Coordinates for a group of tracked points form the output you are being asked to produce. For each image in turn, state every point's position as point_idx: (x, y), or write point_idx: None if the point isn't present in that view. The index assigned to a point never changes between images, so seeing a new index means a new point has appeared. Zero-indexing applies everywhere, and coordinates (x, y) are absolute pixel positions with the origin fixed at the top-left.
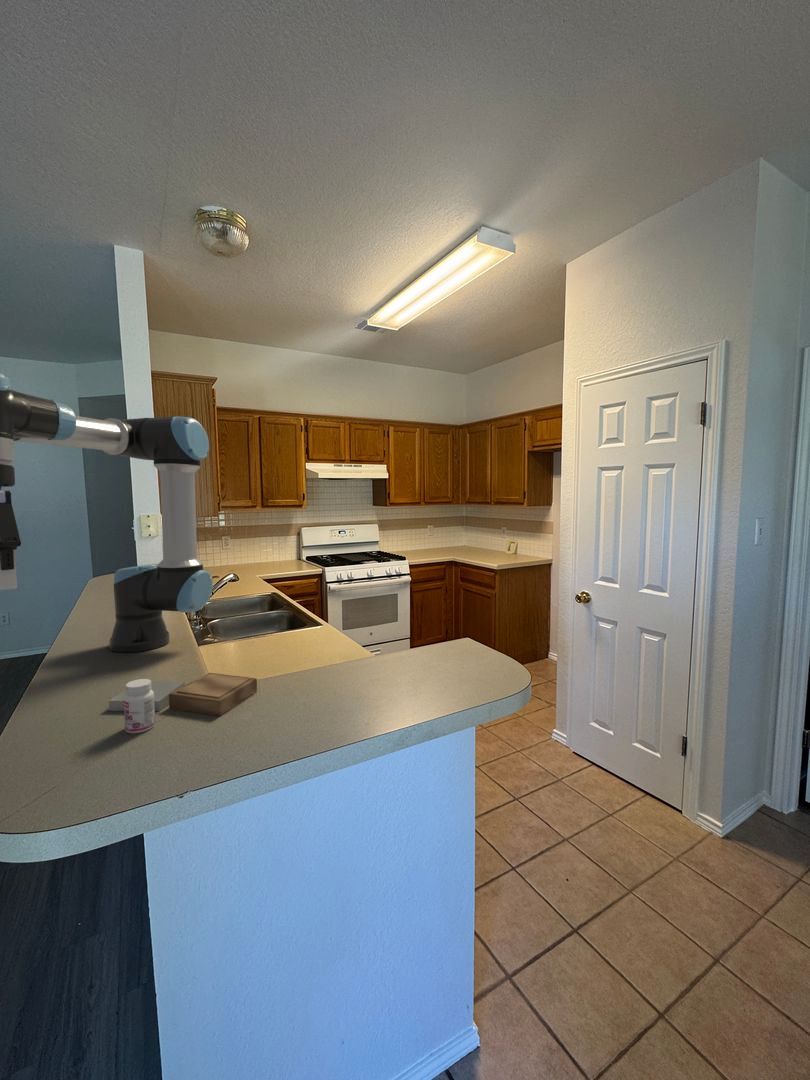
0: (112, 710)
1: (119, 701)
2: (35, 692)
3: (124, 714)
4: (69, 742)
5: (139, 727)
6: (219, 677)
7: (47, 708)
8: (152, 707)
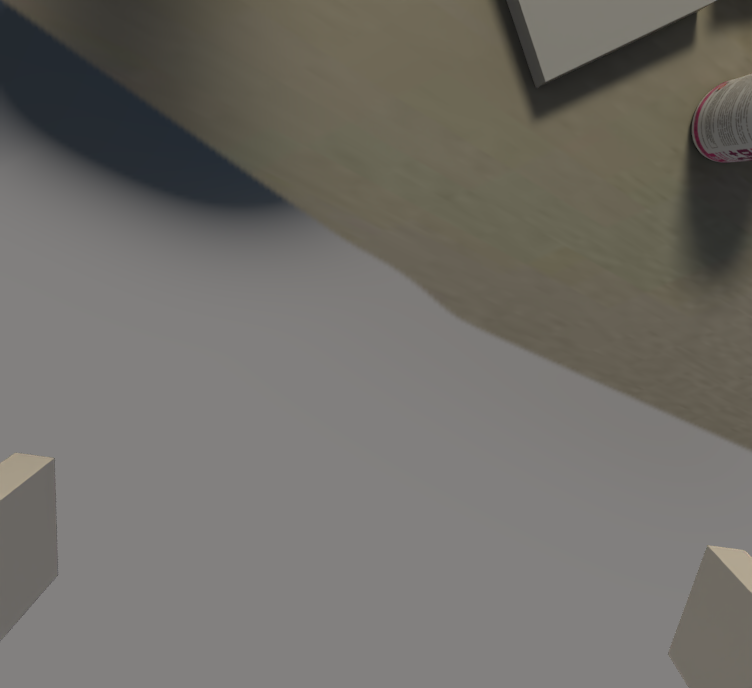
0: (546, 83)
1: (579, 65)
2: (162, 110)
3: (736, 154)
4: (613, 261)
5: None
6: None
7: (340, 167)
8: None
